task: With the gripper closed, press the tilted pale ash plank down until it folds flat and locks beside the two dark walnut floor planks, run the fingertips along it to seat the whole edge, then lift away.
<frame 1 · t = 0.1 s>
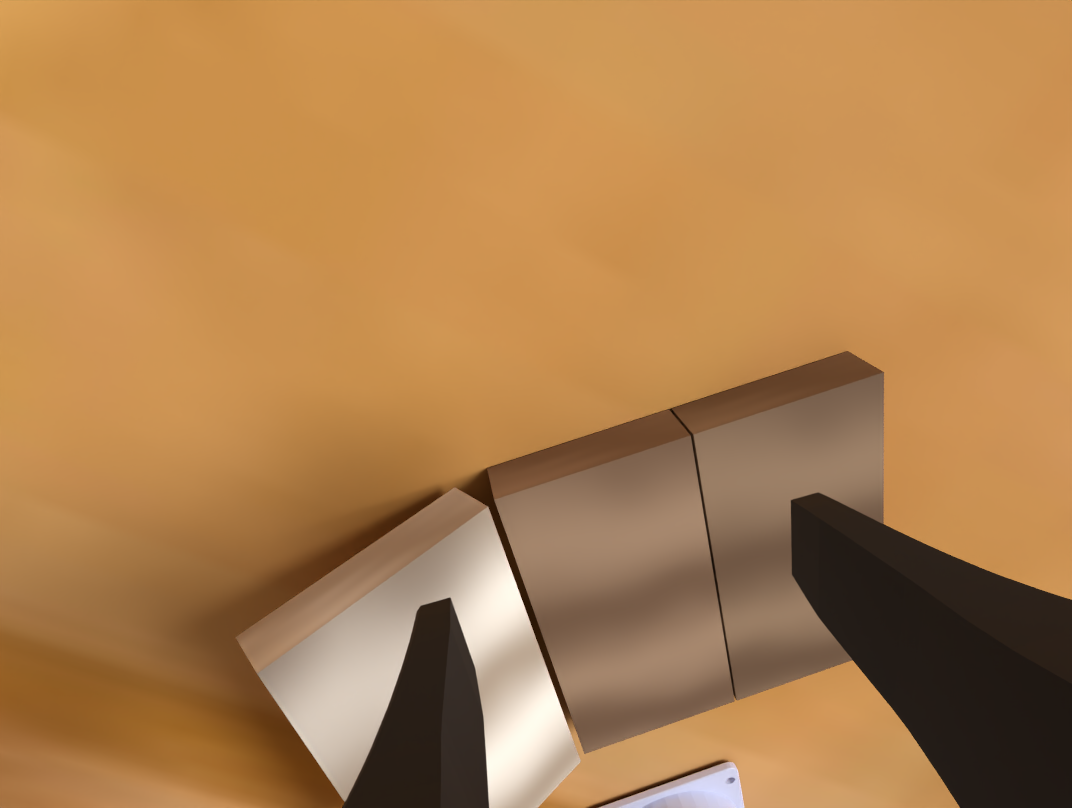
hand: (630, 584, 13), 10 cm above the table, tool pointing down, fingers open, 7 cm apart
ash plank: (441, 711, 23), point 3 cm above the table, hinge at 30.0°
walnut planks: (695, 552, 27), on the table
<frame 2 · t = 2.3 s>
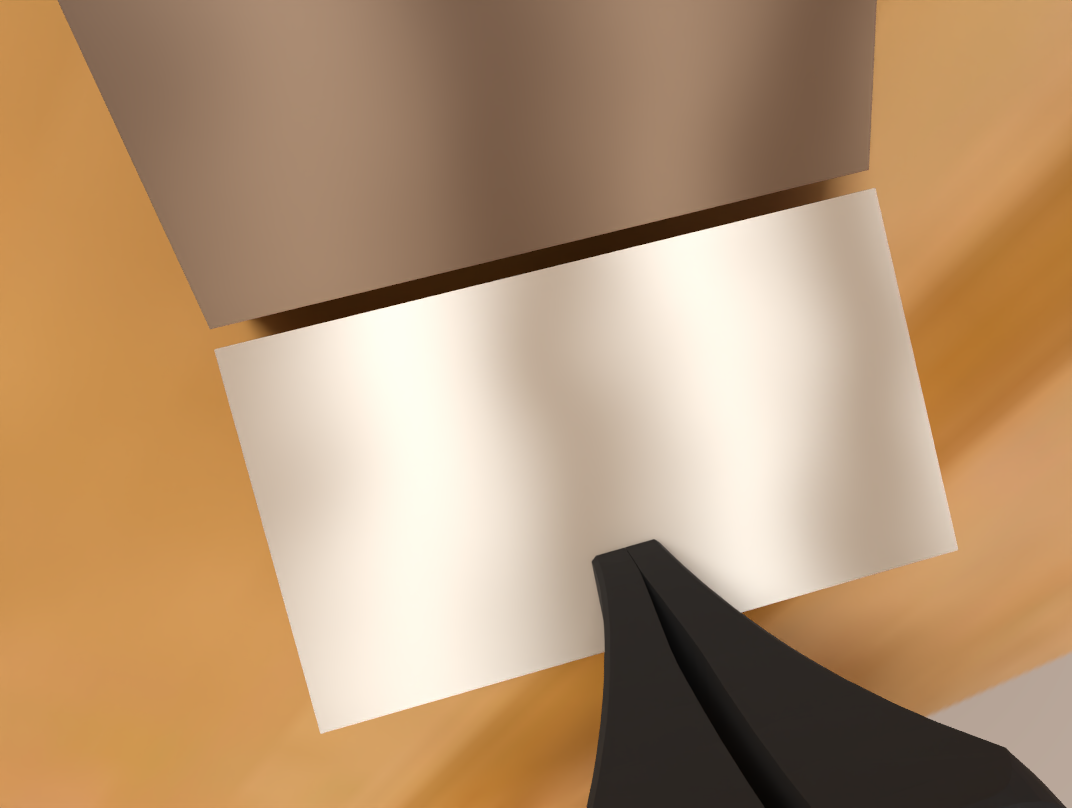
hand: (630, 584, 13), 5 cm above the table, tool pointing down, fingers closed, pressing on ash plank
ash plank: (596, 449, 14), point 3 cm above the table, hinge at 25.3°, touching gripper
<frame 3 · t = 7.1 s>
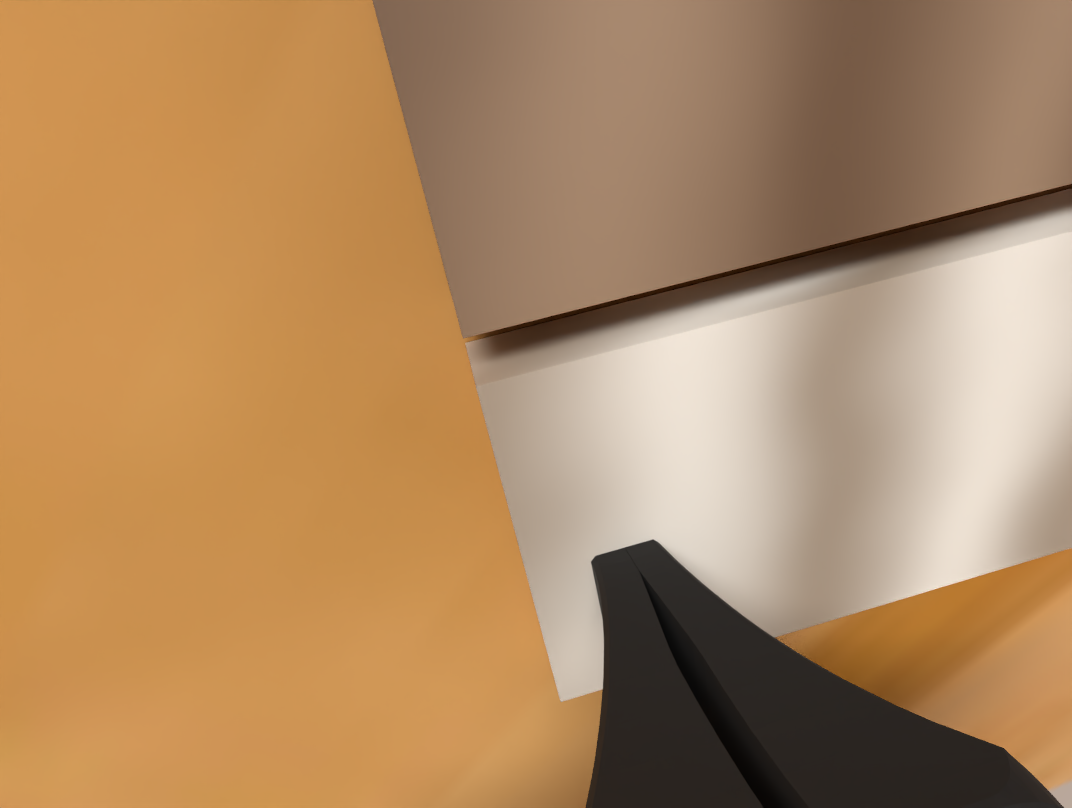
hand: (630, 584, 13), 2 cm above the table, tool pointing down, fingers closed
ash plank: (831, 447, 14), point 1 cm above the table, hinge at -0.7°, touching gripper
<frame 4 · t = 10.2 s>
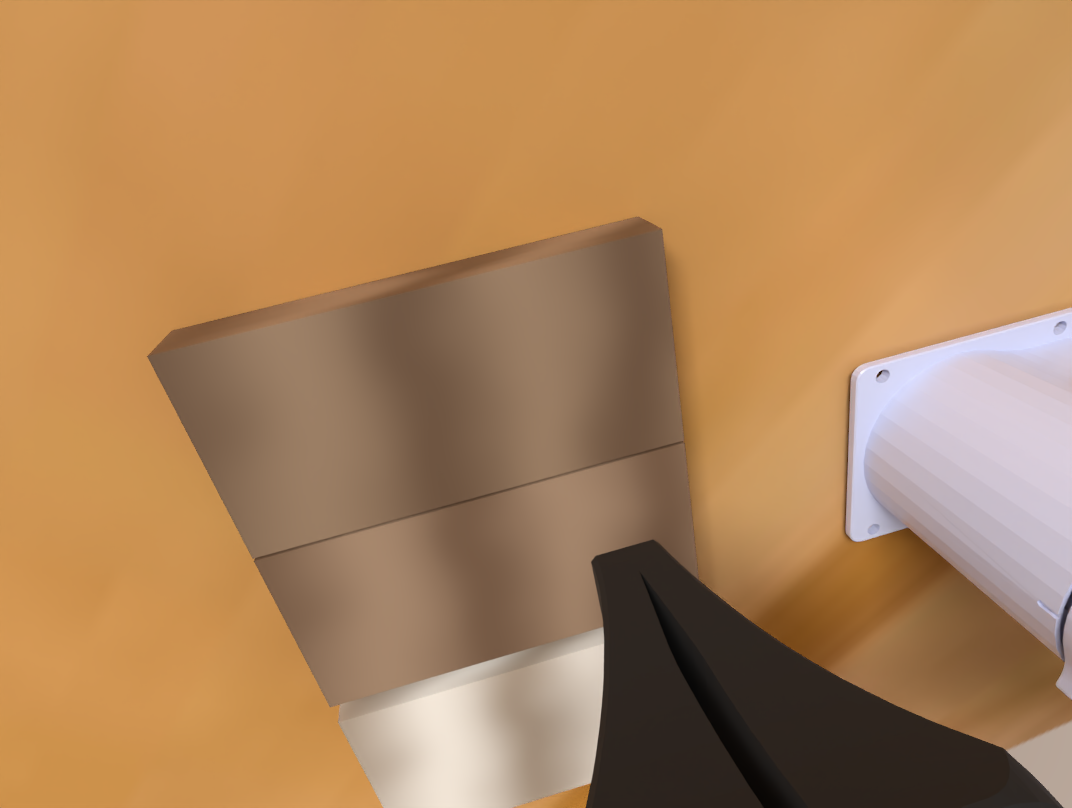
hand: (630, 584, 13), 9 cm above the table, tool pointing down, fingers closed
ash plank: (539, 712, 27), point 1 cm above the table, hinge at -0.7°
walnut planks: (468, 466, 22), on the table
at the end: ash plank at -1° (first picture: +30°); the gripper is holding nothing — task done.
